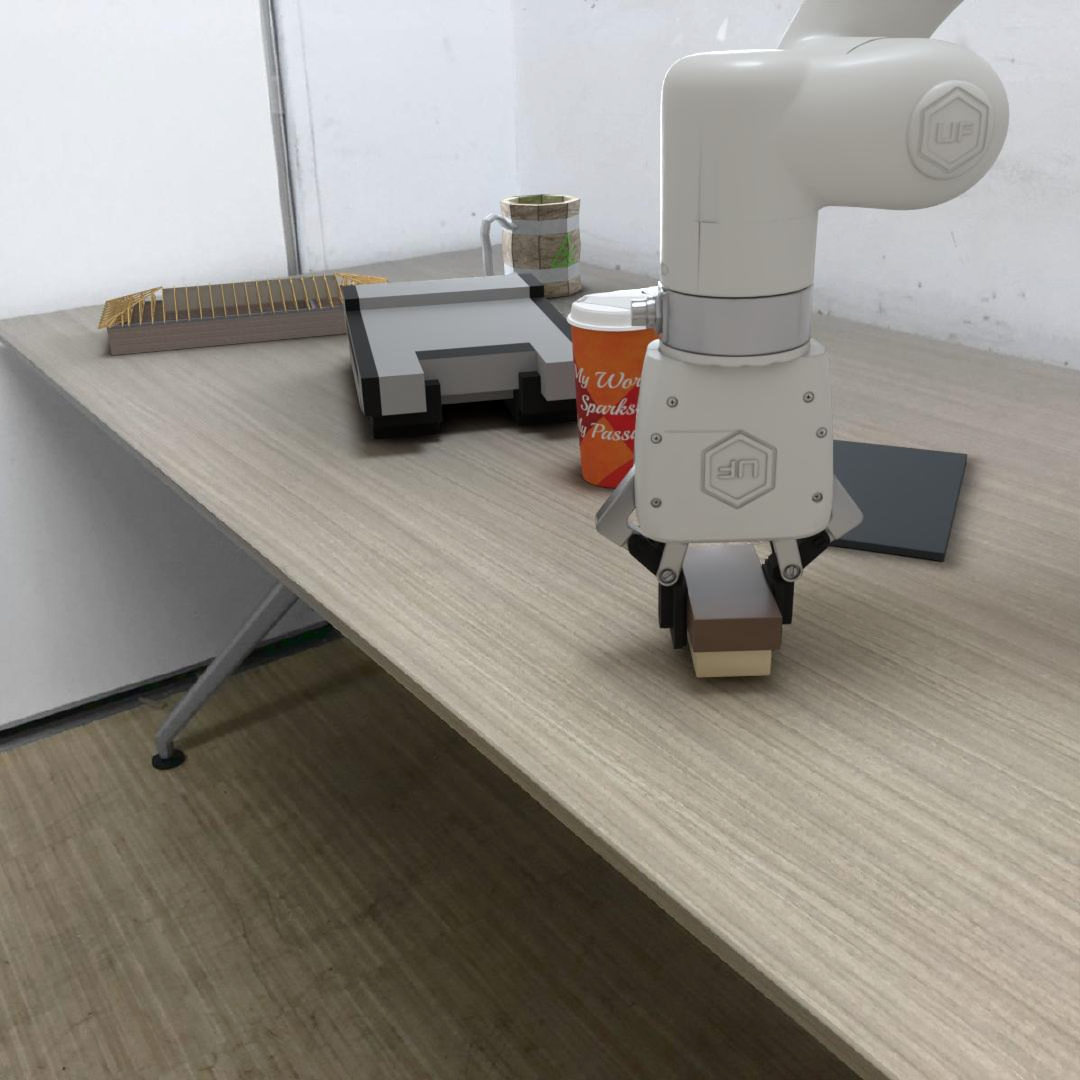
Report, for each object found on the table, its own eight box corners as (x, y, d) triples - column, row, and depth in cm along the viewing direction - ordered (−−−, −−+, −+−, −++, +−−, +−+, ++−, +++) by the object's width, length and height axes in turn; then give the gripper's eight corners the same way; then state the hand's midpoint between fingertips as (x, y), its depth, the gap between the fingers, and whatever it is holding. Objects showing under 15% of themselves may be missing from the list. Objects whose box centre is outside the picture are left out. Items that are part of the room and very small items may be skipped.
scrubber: (674, 605, 68) (675, 546, 66) (750, 603, 68) (753, 543, 66) (692, 685, 60) (693, 619, 58) (778, 682, 59) (782, 617, 58)
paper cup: (555, 486, 87) (551, 309, 82) (587, 454, 94) (586, 287, 88) (651, 498, 85) (654, 315, 79) (677, 464, 91) (682, 293, 85)
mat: (793, 441, 95) (793, 435, 95) (966, 460, 90) (967, 453, 90) (735, 531, 79) (735, 524, 78) (943, 561, 74) (944, 553, 73)
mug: (544, 278, 160) (542, 191, 155) (598, 288, 153) (597, 198, 148) (459, 296, 151) (454, 205, 146) (512, 308, 144) (508, 212, 139)
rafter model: (388, 304, 148) (384, 257, 145) (407, 329, 135) (403, 278, 132) (110, 329, 139) (101, 279, 137) (103, 357, 127) (92, 304, 124)
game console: (368, 458, 94) (359, 363, 91) (348, 360, 123) (341, 286, 119) (605, 435, 98) (605, 344, 94) (533, 345, 126) (531, 273, 123)
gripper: (567, 344, 53) (576, 675, 60) (927, 331, 52) (891, 665, 60) (564, 308, 59) (573, 609, 67) (883, 296, 59) (856, 600, 67)
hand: (723, 632), depth 63 cm, fingers closed on scrubber, 4 cm apart
